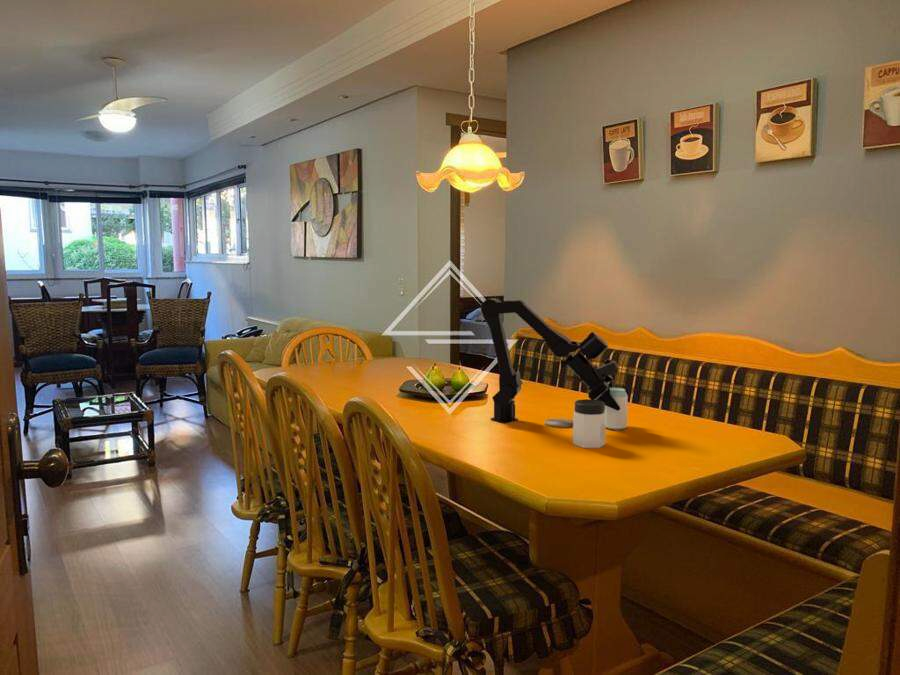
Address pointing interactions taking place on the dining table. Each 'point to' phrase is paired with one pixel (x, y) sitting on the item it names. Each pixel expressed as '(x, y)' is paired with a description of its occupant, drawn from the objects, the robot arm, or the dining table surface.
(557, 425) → the coaster
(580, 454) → the dining table surface
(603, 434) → the jar
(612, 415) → the can
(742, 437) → the dining table surface
